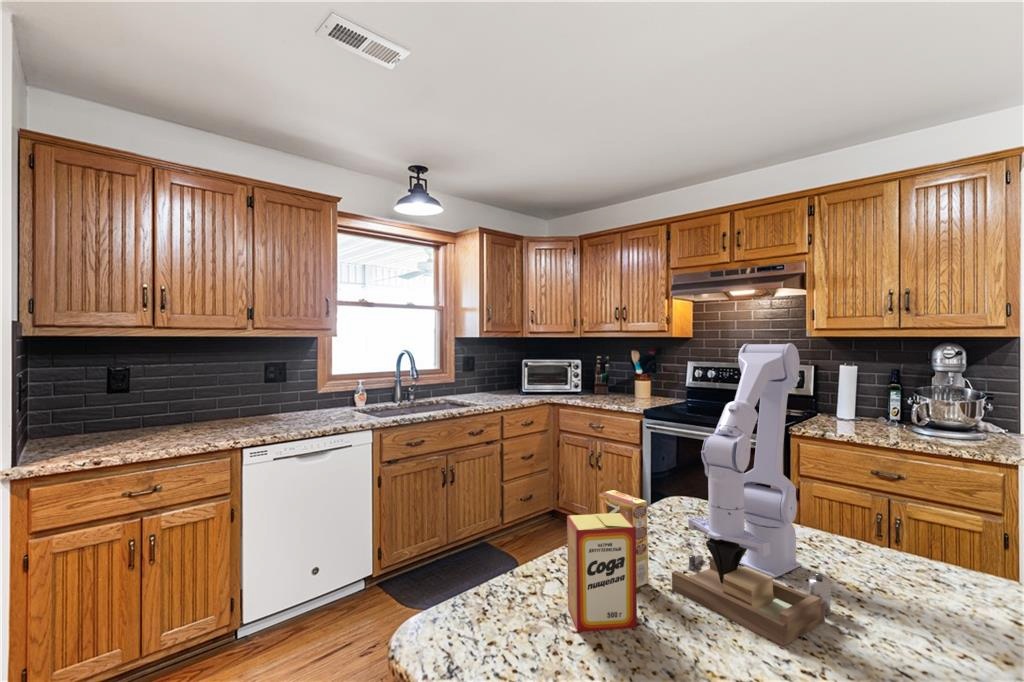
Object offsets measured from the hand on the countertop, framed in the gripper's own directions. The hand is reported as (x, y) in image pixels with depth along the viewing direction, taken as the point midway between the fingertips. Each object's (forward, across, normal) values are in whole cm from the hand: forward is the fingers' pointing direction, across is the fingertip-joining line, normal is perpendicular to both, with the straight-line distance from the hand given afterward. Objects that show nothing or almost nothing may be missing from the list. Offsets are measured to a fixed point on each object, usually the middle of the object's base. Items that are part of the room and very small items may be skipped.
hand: (727, 582), depth 85 cm
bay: (+2, +3, 0) cm, 4 cm away
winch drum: (+2, +11, +9) cm, 14 cm away
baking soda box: (+3, -7, -23) cm, 24 cm away
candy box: (+3, -15, -10) cm, 18 cm away
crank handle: (+3, -11, +6) cm, 13 cm away
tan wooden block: (+1, +4, 0) cm, 4 cm away
